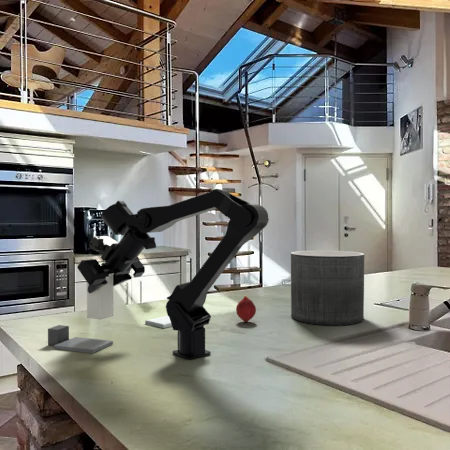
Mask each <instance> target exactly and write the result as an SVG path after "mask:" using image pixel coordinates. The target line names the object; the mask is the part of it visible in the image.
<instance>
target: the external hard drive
mask: <svg viewBox="0 0 450 450" xmlns="http://www.w3.org/2000/svg"><path fill="white" fill-rule="evenodd" d="M144 323H145V325H149V326H152V327H157V328H161V329H166V328H170V327H172V324H171V321H170V318H169V316H168V315H164V316H161V317H160V316H159V317H155V318H151V319H146V320H145V321H144Z"/></svg>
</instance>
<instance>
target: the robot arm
mask: <svg viewBox="0 0 450 450" xmlns="http://www.w3.org/2000/svg"><path fill="white" fill-rule="evenodd" d="M215 210H218V211H219V212H220V213H221V214H222V215H223V216H225V217H226V218H228V219H229V220H228V223H227V227H226V231H225V234H224V235H223V237H222V239H221V240H220V241H219V243H218V244H217V245H216V247H215V248H214V249H213V251H212V252H211V254H210V255H209V256H208V257H207V258H206V260H205V261H204V263H203V264H202V266H201V267H200V269H198V271H197V272H196V274H195V275H194V277H193V278H192V279H191V281H188V282H184V283H181V284H177V285H176V286H175V287H174V288H173V291H172V293H171V294H170V295H169V296H167V297H166V300H167V302H166V305H165V309H166V310H165V311H166V314H167V316H169V318H170V321H171V324H172V326H171V327H172V330H173V331H177V349H175V350H172V354H173V355H176V356H178V357H180V358H183V359H186V360H192V359H196V358H200V357H204V356H207V355H208V356H209V355H211V352H212V351H209V350H207V349H206V327H205V326H206V325H209V323H210V322H211V317H212V316H211V314H210V313H209V312H208V311H207V310H206V308H205V307H204V304H205V303H206V301H207V296H208V292H209V290H210V289H211V288H212V286H214V284H215V283H216V281H217V280H218V279H219V277H220V276H221V275H222V273H223V272H224V271H225V269H226V268H227V267H228V265H229V264H230V263H231V261H232V260H233V259H234V257H236V255H237V253H239V251H240V249H241V248H242V247H243V246H244V245H245V244H247V243H248V242H249V241H250V240H252V239H253V238H254V237H256V236H257V235H258V234H259V233H260V232H262V231H263V229H265V228H266V226H267V225H268V223H269V221H270V219H269V213H268V211H267V210H266V208H265V207H264V206H262V205H260V204H254V203H250V202H248V201H246V200H244V199H242V198H240V197H238V196H236V195H234V194H232V192H231V193H230V191H228V190H227V189H221V188H220V189H219V188H215V189H212V190H210V191H209V192H205V193H202V194H200V195H196V196H193V197H190V198H188V199H184V200H182V201H179V202H176V203H173V204H169V205H163V206H152V207H143V208H141V209H139V210H138V211H137V212H136V213H133V212H132V210H131V209H130V208H129V207H128V206H127V203H126V202H125V201H124V200H116V202H115V203H113V204H111V205H109V206H108V207H107V208H104V210H103V211H102V213H101V216H100V217H101V219H102V220H103V222H104V223H105V224H106V226H108V228H109V229H110V230H111V231H112V233H113V234H114V235H115V236H116V235H117V236H119V235H121V236H122V238H121V239H120V240H119V242H118V241H117V240H115V239H113V238H112V237H110V236H107V235H102V236H101V235H100V236H99V235H98V236H97V235H96V236H93V237H92V239H90V240H89V244H88V246H89V248H90V249H92V250H93V251H95V252H97V253H99V254H100V255H101V256H100V258H101V260H102V261H104V262H102V263H101V264H100V263H99V261H98V259H96V258H90V259H82V260H80V262H79V263H78V265H77V266H76V269H78V271H79V272H80V274H81V275H82V276H83V278H84V280H85V281H86V284H87V283H88V284H89V286H88V290H87V289H86V292H87V291H88V292H89V293H92V292H94V291H96V290H97V289H99V288H101V287H102V286H104V285H106V284H107V283H108V282H107V281H106V278H107V277H109V275H111V274H113V288H114V287H116V286H118V285H121V284H122V283H123V284H124V283H125V282H127V281H130V280H132V278H141V277H143V275H144V273H145V271H146V269H145V265H144V264H143V263H142V262H141V261H140V258H139V256H140V254H141V253H142V252H143V250H144V249H145V250H151V249H152V250H153V249H156V248H157V243H156V240H155V239H156V238H155V237H153V236H150V235H149V233H162V232H164V231H165V230H167V229H170V228H171V227H173V226H174V225H175V224H176V223H179V222H180V221H182V220H186V219H189V218H193V217H195V216H198V215H201V214H205V213H207V212H208V213H209V212H211V211H215ZM131 270H133V271H134V272H133V273H132V275H131ZM132 276H133V277H132Z"/></svg>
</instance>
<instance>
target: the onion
mask: <svg viewBox="0 0 450 450" xmlns="http://www.w3.org/2000/svg"><path fill="white" fill-rule="evenodd" d="M235 312H236V315H237V316H238V318H239V319H240V320H241V321H243V322H244V323H247V322H249V321H251V320H252V319H253V318H254V317H255V316H256V313H257V309H256V305H255V303H254V302H253V300H251V299H250V298H249V297H248V295H246V294H244V296H243V298H242V299H241V300H240V301H239V302H238V303H237V305H236V308H235Z"/></svg>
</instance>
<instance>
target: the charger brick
mask: <svg viewBox="0 0 450 450" xmlns="http://www.w3.org/2000/svg"><path fill="white" fill-rule="evenodd" d="M106 281H107V282H108V283H107V284H106V285H104V286H102V287H101V288H99V289H97V290H96V291H94V292H92V293H89V292H88V291H87V290H88V286H89V284H88V283H87V282H86V318H87V319H93V320H98V321H99V320H105V319H108V318H113V317H114V315H115V314H114V313H115V312H114V287H113V274H111V275H109V277H107V278H106Z"/></svg>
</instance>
